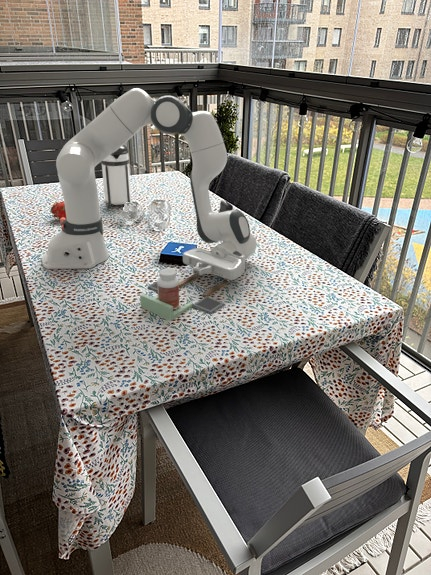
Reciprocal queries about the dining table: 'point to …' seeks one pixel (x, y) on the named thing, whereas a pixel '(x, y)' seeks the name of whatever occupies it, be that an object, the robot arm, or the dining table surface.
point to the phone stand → (225, 206)
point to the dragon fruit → (58, 210)
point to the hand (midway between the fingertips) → (196, 271)
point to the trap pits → (199, 302)
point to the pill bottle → (168, 287)
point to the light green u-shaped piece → (161, 307)
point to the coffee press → (117, 177)
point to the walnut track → (208, 290)
